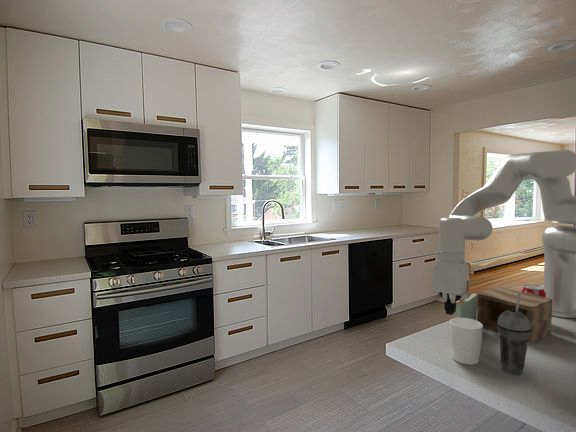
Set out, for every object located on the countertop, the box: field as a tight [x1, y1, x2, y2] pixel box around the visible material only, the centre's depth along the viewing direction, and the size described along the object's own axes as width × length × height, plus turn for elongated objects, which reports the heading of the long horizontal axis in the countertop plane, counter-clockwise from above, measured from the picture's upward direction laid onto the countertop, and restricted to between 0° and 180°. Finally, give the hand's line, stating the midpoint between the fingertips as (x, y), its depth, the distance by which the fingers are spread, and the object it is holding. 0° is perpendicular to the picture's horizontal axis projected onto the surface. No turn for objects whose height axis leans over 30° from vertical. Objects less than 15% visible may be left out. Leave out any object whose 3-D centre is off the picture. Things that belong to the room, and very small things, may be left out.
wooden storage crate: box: [477, 286, 553, 345], centre depth 113 cm, size 13×16×11 cm
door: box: [454, 293, 478, 321], centre depth 111 cm, size 2×16×10 cm, turn 136°
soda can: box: [520, 284, 546, 298], centre depth 119 cm, size 7×7×12 cm
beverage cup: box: [497, 293, 531, 377], centre depth 88 cm, size 7×7×20 cm
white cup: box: [449, 317, 484, 366], centre depth 95 cm, size 8×8×10 cm
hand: (450, 313), depth 112 cm, fingers closed
